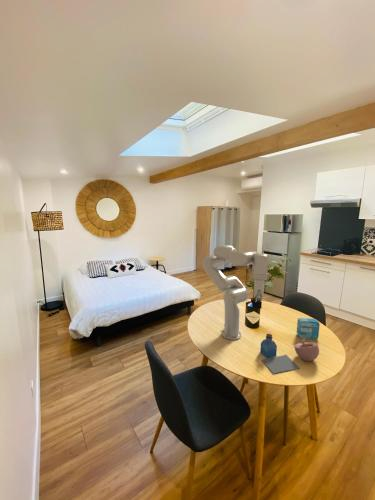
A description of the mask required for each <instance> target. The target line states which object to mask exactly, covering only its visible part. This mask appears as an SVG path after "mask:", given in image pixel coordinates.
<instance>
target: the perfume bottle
mask: <svg viewBox="0 0 375 500" xmlns="http://www.w3.org/2000/svg"><path fill="white" fill-rule="evenodd" d="M265 335H266V336H265V338H264V339H263V340H262V341H261V342H260V348H259V350H260V354H261V355H263V356H264V357H265V358H266V359H267V358H272V357H277V351H278V349H277V348H278V346H277V344H276V342H275V340H273V335H272V334H271V333H266V334H265Z"/></svg>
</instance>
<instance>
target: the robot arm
mask: <svg viewBox="0 0 375 500" xmlns="http://www.w3.org/2000/svg"><path fill="white" fill-rule="evenodd" d="M227 262H230V263H231V265H235V266H239V267H246V266H250V265H252V266H253V267H252V269H253V270H252V279H253V280H254V284H253V297H254V298H255V306H254V307H255V309H262V305H263V304H262V303H263V301H262V299H263V296H264V291H265V281H267V279H268V265H269V256H268V255H267V254H265V253H260V252H258V251H255V250H250V251H243V252H238V250H237V249H236V248H235V247H233V246H232V245H231V244H224V245H223V244H221V245H218V246H215V247H214V249H213V254H211V255H207V256H205V257H203V259H202V268H203V270H204V272H205V273H206V274H207V276H208V277H209V278H210V279H211V280H212V282H213V283H214V284H215V286H216V288H217V289H218V290H219V292H224V294H223V303H224V325H223V326H224V328H223V329H224V330H223V329H222V331H221V335H222V337H223V338H224V339H227V340H231V341H235V340H236V341H237V340H239V339H241V337H242V333H241V332H240V309H239V305H238V304H240V303H244V302H246V301H248V299H249V292H248V290H247V288H246V287H245V286H244V284H243V283H242V282H241V281H240V279H239V278H238V277H237V276H234V275H228V276H226V275H224V273H223V272H222V271H221V270H220V269H218V268H216V267H219V266H223V265H225V264H227Z"/></svg>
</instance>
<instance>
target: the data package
mask: <svg viewBox="0 0 375 500" xmlns="http://www.w3.org/2000/svg"><path fill="white" fill-rule="evenodd" d="M296 325H297V326H296V334H297V336H298V338H299V339H304V338H305V339H309V340H310V339H311V340H317V339H318V338H319V334H320V333H319V332H320V326H321V324H320V322H319V321H318V319H316V318H306V317H299V318H298V319H297V323H296Z"/></svg>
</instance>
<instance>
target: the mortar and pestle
mask: <svg viewBox="0 0 375 500" xmlns="http://www.w3.org/2000/svg"><path fill="white" fill-rule="evenodd" d="M306 339H307V338H303V339H302V340H301V342H300V343H296V344H295V345H294V351H295V352H296V355H297V356H298V357H299V358H300V359H301V360H304V361H307V362H310V361H315V360H316V359H317V358H318V356H320V355H319V354H320V348H319V345H318V344H317V343H316V342H311V341H310V342H309V341H307V342H306Z"/></svg>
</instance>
